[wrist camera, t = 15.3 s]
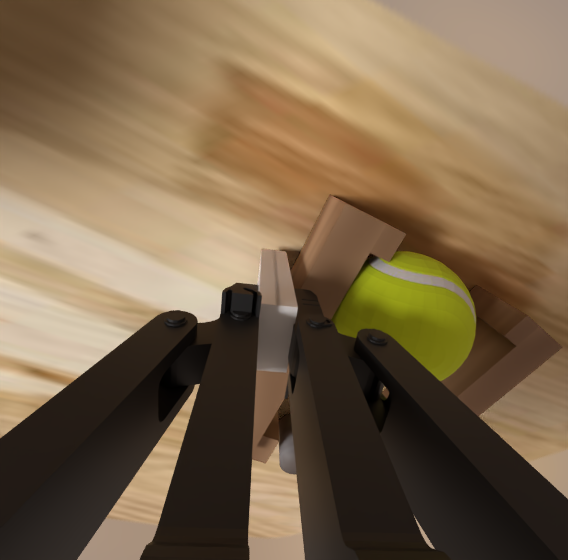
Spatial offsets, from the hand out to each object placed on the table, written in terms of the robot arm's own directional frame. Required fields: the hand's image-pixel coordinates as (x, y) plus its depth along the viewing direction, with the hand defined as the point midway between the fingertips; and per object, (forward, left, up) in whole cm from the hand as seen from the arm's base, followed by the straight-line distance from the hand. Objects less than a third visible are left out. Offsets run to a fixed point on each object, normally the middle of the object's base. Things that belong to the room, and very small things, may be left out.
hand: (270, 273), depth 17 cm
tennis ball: (+6, +3, -1) cm, 7 cm away
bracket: (+3, -2, -1) cm, 4 cm away
